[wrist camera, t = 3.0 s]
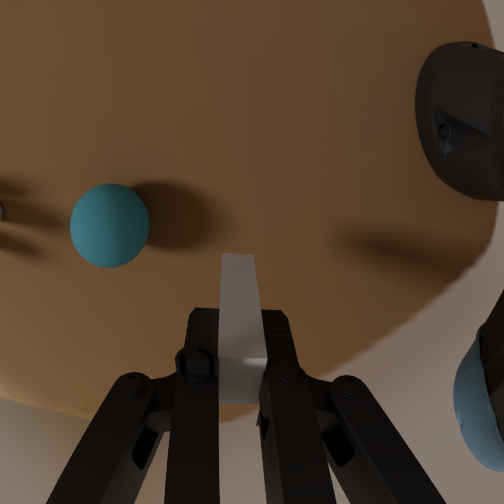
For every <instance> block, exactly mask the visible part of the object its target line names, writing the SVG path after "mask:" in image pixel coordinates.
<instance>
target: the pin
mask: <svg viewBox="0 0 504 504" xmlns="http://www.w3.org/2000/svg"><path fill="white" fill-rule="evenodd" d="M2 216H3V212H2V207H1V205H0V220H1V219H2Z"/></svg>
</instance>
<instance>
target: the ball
mask: <svg viewBox="0 0 504 504" xmlns="http://www.w3.org/2000/svg"><path fill="white" fill-rule="evenodd" d="M70 231H71V237H72V241H73V243H74V246H75V247H76V249H77V251H78V252H79V253H80V255H81V256H82V257H83V258H85V259H86V260H87V261H88V262H90V263H92V264H94V265H96V266H100V267H106V268H112V267H118V266H121V265H124V264H126V263H128V262H130V261H131V260H132V259H134V258H135V257H136V256H137V255H138V254H139V252H140V251H141V250H142V248H143V247H144V245H145V243H146V240H147V237H148V233H149V216H148V212H147V209H146V207H145V205H144V203H143V201H142V200H141V198H140V197H139V196H138V195H137V194H136V193H135V192H134V191H132V190H131V189H129V188H127V187H125V186H122V185H118V184H103V185H99V186H96V187H94V188H92V189H90V190H89V191H87V192H86V193H85V194H84V195H83V196H82V197H81V198H80V199H79V201H78V202H77V204H76V206H75V207H74V210H73V213H72V216H71V222H70Z"/></svg>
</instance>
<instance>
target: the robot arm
mask: <svg viewBox="0 0 504 504" xmlns="http://www.w3.org/2000/svg"><path fill="white" fill-rule="evenodd" d="M415 111H416V122H417V128H418V133H419V137H420V141H421V144H422V147H423V150H424V153H425V155H426V157H427V159H428V161H429V163H430V165H431V167H432V168H433V170H434V171H435V173H436V174H437V175H438V177H439V178H440V179H441V180H442V181H443V182H444V183H445V184H447V185H448V186H449V187H451V188H453V189H455V190H456V191H458V192H460V193H462V194H464V195H466V196H468V197H471V198H474V199H479V200H492V201H504V52H501V51H498V50H495V49H492V48H489V47H487V46H485V45H482V44H479V43H476V42H469V41H462V42H454V43H448V44H444V45H442V46H440V47H438V48H436V49H435V50H434V51H433V52H432V53H431V54H430V55H429V56H428V58H427V59H426V61H425V62H424V64H423V66H422V69H421V71H420V74H419V78H418V82H417V87H416V97H415ZM175 363H176V370H177V371H176V372H175V373H173V374H171V375H169V376H167V377H163V378H157V379H150V378H149V377H148V376H146V375H144V374H142V373H137V372H131V373H126V374H124V375H122V376H120V377H119V378H118V379H117V380H116V382H115V383H114V385H113V386H112V388H111V390H110V391H109V393H108V394H107V396H106V398H105V399H104V401H103V403H102V404H101V406H100V408H99V409H98V411H97V413H96V414H95V416H94V418H93V419H92V421H91V423H90V424H89V426H88V428H87V430H86V431H85V433H84V435H83V436H82V438H81V440H80V442H79V443H78V445H77V447H76V449H75V450H74V452H73V454H72V456H71V458H70V459H69V461H68V463H67V465H66V467H65V468H64V471H63V472H62V474H61V476H60V478H59V480H58V481H57V483H56V485H55V487H54V489H53V491H52V493H51V495H50V497H49V499H48V501H47V502H46V504H134V502H135V500H136V498H137V495H138V493H139V490H140V488H141V485H142V483H143V481H144V479H145V476H146V474H147V471H148V469H149V467H150V464H151V462H152V460H153V457H154V455H155V452H156V450H157V448H158V445H159V443H160V441H161V439H162V436H163V434H164V432H167V431H170V439H169V448H168V459H167V471H166V484H165V498H164V504H220V493H219V403H227V404H258V400H259V404H260V410H259V414H258V419H257V424H256V426H259V428H260V439H261V449H262V460H263V471H264V481H265V491H266V501H267V504H337V503H336V498H335V494H334V489H333V484H332V480H331V475H330V471H329V467H328V463H329V465H330V467H331V469H332V471H333V472H334V474H335V476H336V478H337V480H338V482H339V484H340V485H341V487H342V489H343V491H344V493H345V495H346V496H347V498H348V500H349V502H350V504H446V502H445V501H444V499H443V498H442V496H441V495H440V493H439V492H438V490H437V489H436V487H435V486H434V484H433V483H432V481H431V480H430V478H429V477H428V475H427V474H426V472H425V471H424V469H423V468H422V466H421V465H420V463H419V462H418V460H417V459H416V457H415V456H414V454H413V453H412V451H411V450H410V449H409V447H408V445H407V444H406V443H405V441H404V440H403V438H402V437H401V435H400V434H399V432H398V431H397V430H396V428H395V427H394V425H393V424H392V422H391V421H390V419H389V418H388V416H387V415H386V414H385V412H384V411H383V409H382V408H381V406H380V405H379V403H378V402H377V401H376V399H375V398H374V396H373V395H372V393H371V392H370V390H369V389H368V388H367V386H366V385H365V384H364V383H363V382H362V381H361V380H360V379H358V378H356V377H354V376H349V375H344V376H339V377H337V378H336V379H335V380H334V381H333V382H328V381H323V380H318V379H315V378H312V377H310V376H309V375H307V374H306V373H305V371H304V370H303V369H302V368H300V366H299V363H298V359H297V355H296V350H295V346H294V342H293V338H292V334H291V330H290V326H289V321H288V318H287V317H286V316H285V314H284V313H283V312H282V311H281V310H261V308H260V301H259V294H258V287H257V279H256V272H255V265H254V258H253V255H248V254H229V253H222V268H221V288H220V309H214V308H196V307H195V309H194V310H193V311H192V312H191V314H190V315H189V319H188V326H187V332H186V338H185V344H184V348H182V349H181V350H180V351H179V352H178V353H177V355H176V357H175ZM453 391H454V392H453V397H454V398H453V399H454V409H455V414H456V418H457V420H458V422H459V424H460V428H461V434H462V436H463V438H464V441H465V443H466V444H467V446H468V448H469V449H470V451H471V452H472V454H473V455H474V456H475V458H476V459H477V460H479V461H480V462H481V463H482V464H483V465H484V466H485V467H487V468H489V469H491V470H494V471H500V472H503V471H504V290H503V292H502V294H501V296H500V297H499V300H498V301H497V303H496V305H495V307H494V308H493V310H492V312H491V314H490V315H489V317H488V319H487V320H486V322H485V323H484V324H482V326H480V328H479V329H478V331H477V334H476V339H475V341H474V342H473V344H472V346H471V347H470V349H469V350H468V352H467V354H466V355H465V357H464V358H463V360H462V361H461V363H460V366H459V367H458V370H457V373H456V376H455V381H454V389H453ZM327 461H328V462H327Z"/></svg>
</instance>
